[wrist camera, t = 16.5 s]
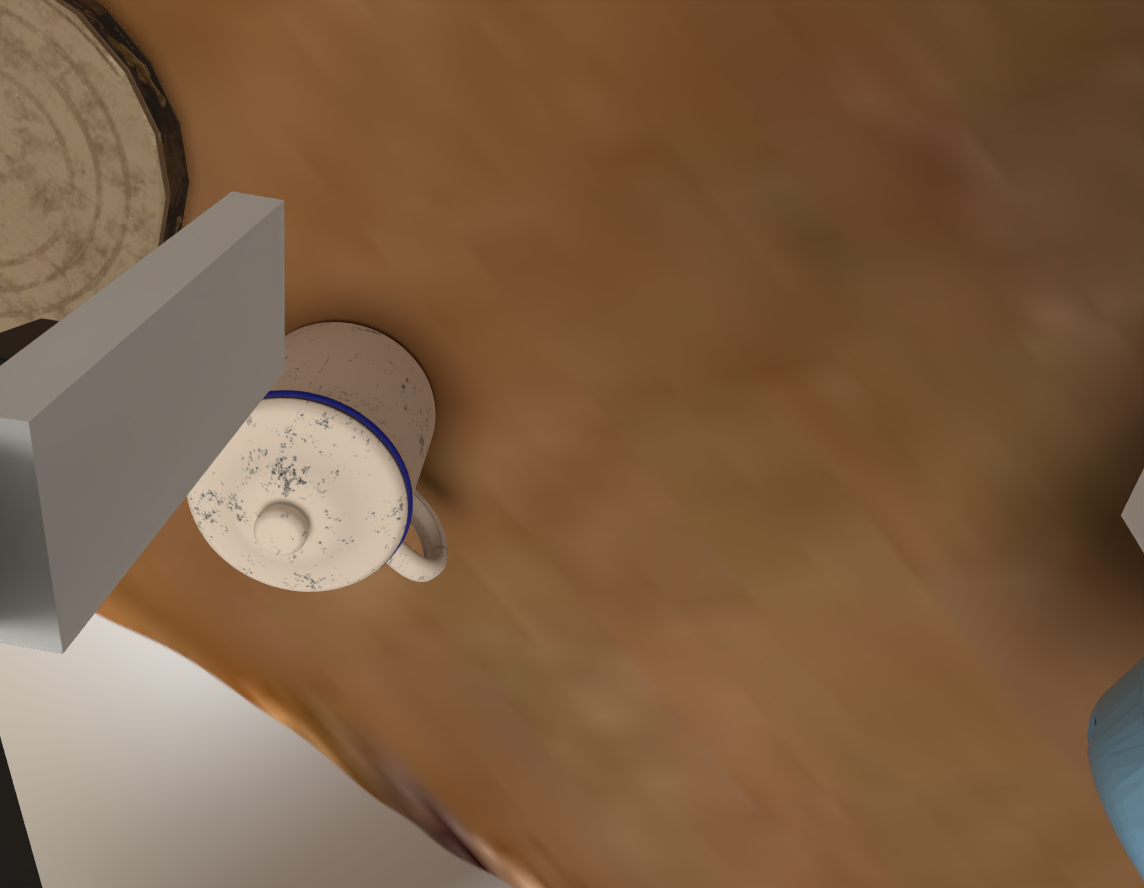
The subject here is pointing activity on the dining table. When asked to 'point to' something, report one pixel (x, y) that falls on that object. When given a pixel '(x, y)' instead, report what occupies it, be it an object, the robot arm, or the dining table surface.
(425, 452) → the teacup with lid
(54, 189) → the wood log slice
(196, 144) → the dining table surface
